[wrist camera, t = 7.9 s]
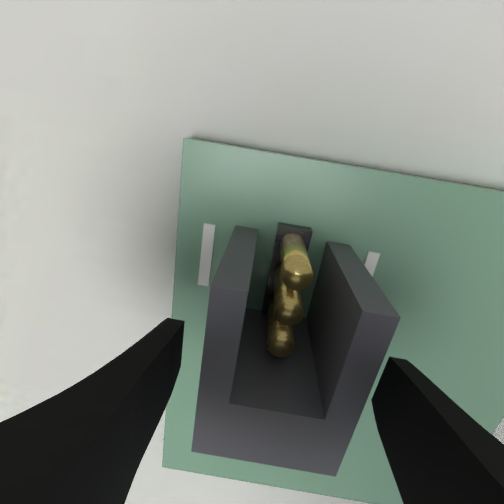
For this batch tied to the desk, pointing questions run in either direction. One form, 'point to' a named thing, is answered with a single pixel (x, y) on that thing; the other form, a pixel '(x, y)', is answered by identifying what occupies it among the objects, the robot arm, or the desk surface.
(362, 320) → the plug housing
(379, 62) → the desk surface
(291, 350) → the pin header
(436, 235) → the circuit board
